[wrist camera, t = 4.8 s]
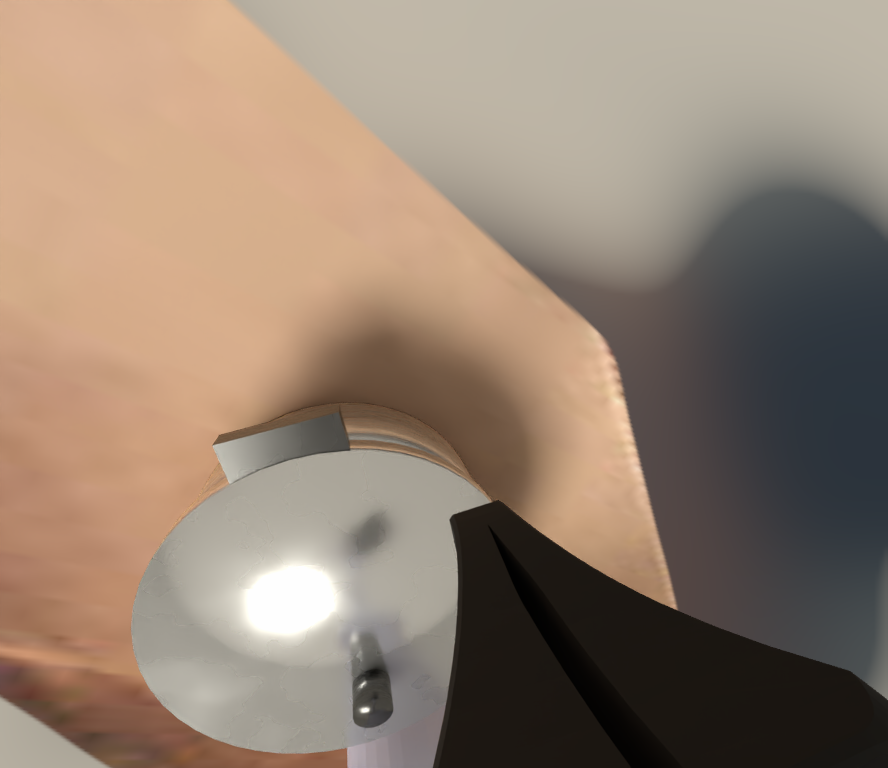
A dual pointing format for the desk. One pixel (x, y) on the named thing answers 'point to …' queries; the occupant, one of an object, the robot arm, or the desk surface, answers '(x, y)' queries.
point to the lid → (307, 590)
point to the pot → (378, 433)
